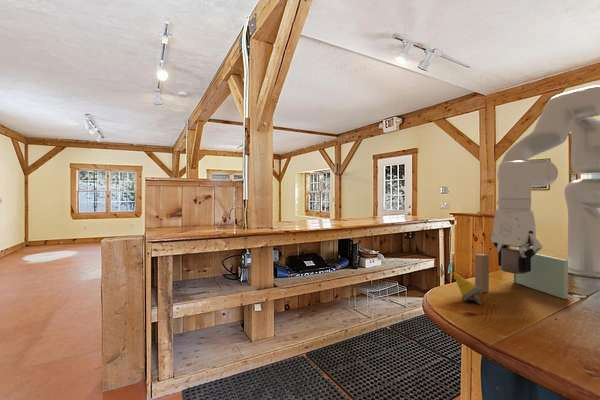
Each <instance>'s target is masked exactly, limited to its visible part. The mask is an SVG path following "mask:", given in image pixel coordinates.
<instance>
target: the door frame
mask: <svg viewBox="0 0 600 400" xmlns="http://www.w3.org/2000/svg"><path fill="white" fill-rule="evenodd" d="M531 247H532V246H531ZM517 248H518V247H517ZM518 249H519V248H518ZM524 249H525V250H526V248H524ZM536 254H539V251H537V253H536ZM489 268H490V256H489V254H488V253H476V254H474V285H476V286H480V287H481V288H482V290H481V291H480V292H479V293H480V294H484V293H483V292H485V293H489V292H490V286H489V285H490V274H489V273H490V272H489V271H490V269H489ZM488 291H489V292H488Z"/></svg>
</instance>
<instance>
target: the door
mask: <svg viewBox="0 0 600 400" xmlns="http://www.w3.org/2000/svg"><path fill="white" fill-rule="evenodd" d="M513 282H514V283H516V284H519V285H521V286H525V287H528V288H529V289H530V288H531V289H534V290H536V291H540V292H543V293H546V294H548V295H552V296H554V297H557V298H560V299H563V300H565V299H567V300H568V297H569V273H568V259H563V258H559V257H554V256H549V255H545V254H539V253H538V254H535V255H534V256H533V257H531V271H530V272H527V273H525V274H515V273H513Z"/></svg>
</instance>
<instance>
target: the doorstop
mask: <svg viewBox="0 0 600 400" xmlns="http://www.w3.org/2000/svg"><path fill="white" fill-rule="evenodd" d="M525 252H526V250H525ZM519 257H521V254H520V251H519V249H518V247H509V248H501V266H500V271H501V272H502V271H503V272H504V273H510V274H514V273H515V274H525V273H527V272H520V271H519Z"/></svg>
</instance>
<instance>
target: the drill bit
mask: <svg viewBox="0 0 600 400" xmlns="http://www.w3.org/2000/svg"><path fill="white" fill-rule="evenodd" d="M452 274H453V277H454V279H455V282H456V284H457V287H458V288H459V291H460V294H461V296H462V297H461V299H462V301H464V302H466V301H468V300H469V299H471V298H472V299H473V300H474V301H475V303H477V304H480V305H483V303H482V301H481V300H480V298H479V296H478V295H477V294H478V293H480V291H481V290H482V288H481V287H480V286H476V285H475V283H473V282H471V281H469V280H468V279H466V278H465V277H463V276H461V275H459V274H458V273H456V272H454V271H453V272H452Z"/></svg>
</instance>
